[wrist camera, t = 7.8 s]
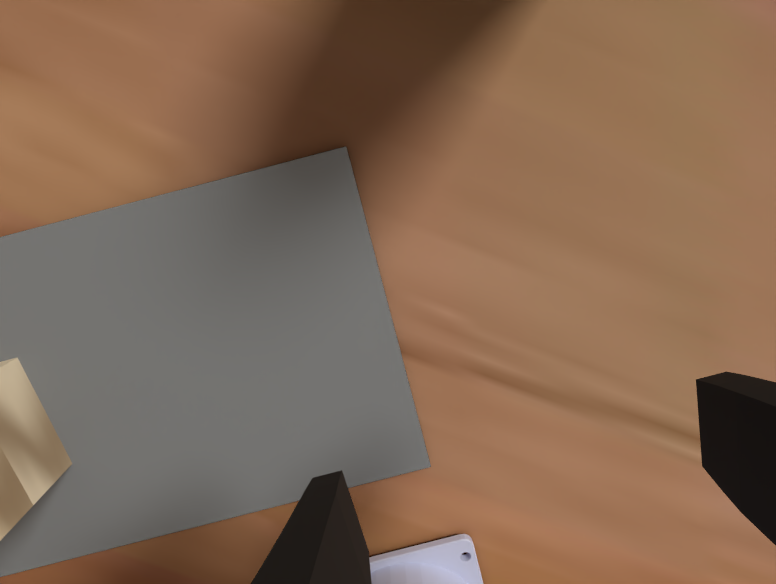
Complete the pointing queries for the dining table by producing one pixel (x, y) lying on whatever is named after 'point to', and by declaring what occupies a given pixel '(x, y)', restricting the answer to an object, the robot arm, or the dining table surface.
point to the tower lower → (28, 433)
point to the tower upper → (11, 497)
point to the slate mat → (204, 356)
